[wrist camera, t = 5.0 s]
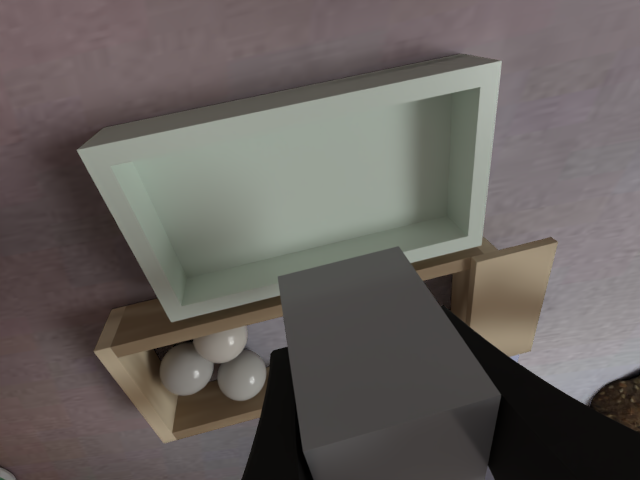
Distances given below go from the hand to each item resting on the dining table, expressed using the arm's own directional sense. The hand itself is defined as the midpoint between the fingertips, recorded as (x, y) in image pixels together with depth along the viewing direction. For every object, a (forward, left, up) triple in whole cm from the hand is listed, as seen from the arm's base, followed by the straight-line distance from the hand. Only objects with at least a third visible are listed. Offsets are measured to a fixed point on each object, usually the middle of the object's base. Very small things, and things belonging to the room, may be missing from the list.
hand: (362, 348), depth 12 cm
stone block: (0, 0, -2) cm, 2 cm away
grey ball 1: (-7, +9, -9) cm, 15 cm away
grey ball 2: (-9, +6, -9) cm, 14 cm away
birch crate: (-7, 0, -9) cm, 11 cm away
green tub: (+2, 0, -9) cm, 9 cm away
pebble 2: (-5, +7, -9) cm, 12 cm away
